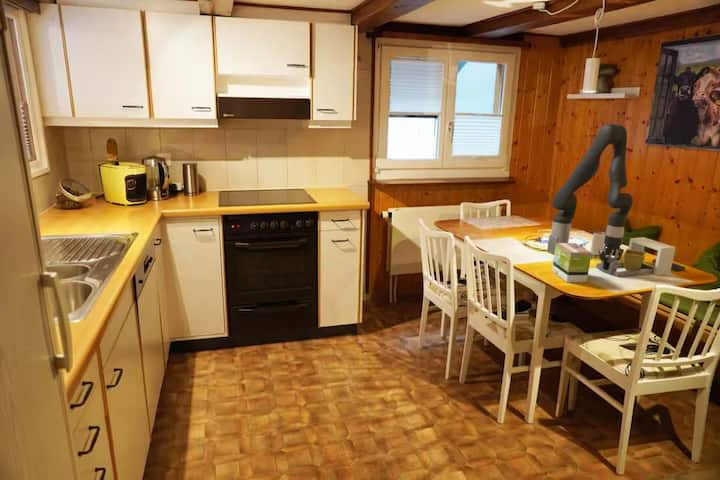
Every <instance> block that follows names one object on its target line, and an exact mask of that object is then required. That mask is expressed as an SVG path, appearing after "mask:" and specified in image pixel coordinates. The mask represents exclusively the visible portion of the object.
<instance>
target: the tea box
mask: <svg viewBox="0 0 720 480" xmlns="http://www.w3.org/2000/svg"><path fill="white" fill-rule="evenodd" d="M591 253H592V252H590V250H588V249H586V248H585V247H582V246H581V245H579V244H578V243H577V242H568V243H556V247H555V254H553V255H554V256H553V263H552V270H551V271H552V273H554V274H556V276H559V278H561V280H563V281H564V282H566V283H571V282H574V283H576V282H580V283H588V278H589V272H590V265H591V258H592V254H591ZM571 284H572V283H571Z"/></svg>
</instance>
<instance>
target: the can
mask: <svg viewBox="0 0 720 480" xmlns="http://www.w3.org/2000/svg"><path fill="white" fill-rule="evenodd" d="M605 234H606V232H603V231H594V233H593V234H592V238H591V239H592V240H591V246H590V250H589V251H590V252H592V253H591V256H592V255H593V256H597V257H600V256H599V250H603V249H604V247H605V243H604V240H605Z"/></svg>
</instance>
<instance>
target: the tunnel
mask: <svg viewBox="0 0 720 480" xmlns="http://www.w3.org/2000/svg"><path fill="white" fill-rule="evenodd" d="M628 243H629V244H628V249H630V250H636V251H641V252H645V247H647V248H649V249H653V250H655V251H657V254H656V258H655V259H656V263H654V267H655V268H654V273H652V274H653V275H654V276H662V275H670V274H671V272H672V271H671V270H672V269H671V267H672V263H674V256H675V253H676V246H673V245H671V244H666V243H663V242H660V241H658V240H655V239H650V238H647V237H643V236H642V237H633V238H632V237H631V238H630V239H629V242H628Z"/></svg>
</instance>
